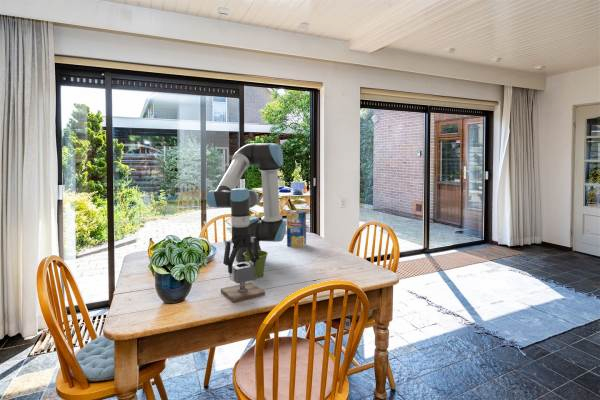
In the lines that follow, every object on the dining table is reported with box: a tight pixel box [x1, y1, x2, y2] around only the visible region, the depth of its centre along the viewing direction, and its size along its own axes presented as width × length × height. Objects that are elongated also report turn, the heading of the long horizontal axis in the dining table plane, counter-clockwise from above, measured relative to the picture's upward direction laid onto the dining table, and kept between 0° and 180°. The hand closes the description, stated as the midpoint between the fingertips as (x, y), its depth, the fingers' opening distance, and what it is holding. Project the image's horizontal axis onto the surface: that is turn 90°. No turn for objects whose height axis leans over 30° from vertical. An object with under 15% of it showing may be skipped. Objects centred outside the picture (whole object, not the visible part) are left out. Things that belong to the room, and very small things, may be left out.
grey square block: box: [233, 261, 256, 285], centre depth 152 cm, size 8×8×6 cm
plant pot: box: [243, 249, 269, 279], centre depth 175 cm, size 12×12×11 cm
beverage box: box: [286, 210, 307, 248], centre depth 231 cm, size 7×11×22 cm, turn 73°
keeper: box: [220, 281, 266, 304], centre depth 152 cm, size 14×14×10 cm
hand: (242, 278), depth 152 cm, fingers closed on grey square block, 8 cm apart
